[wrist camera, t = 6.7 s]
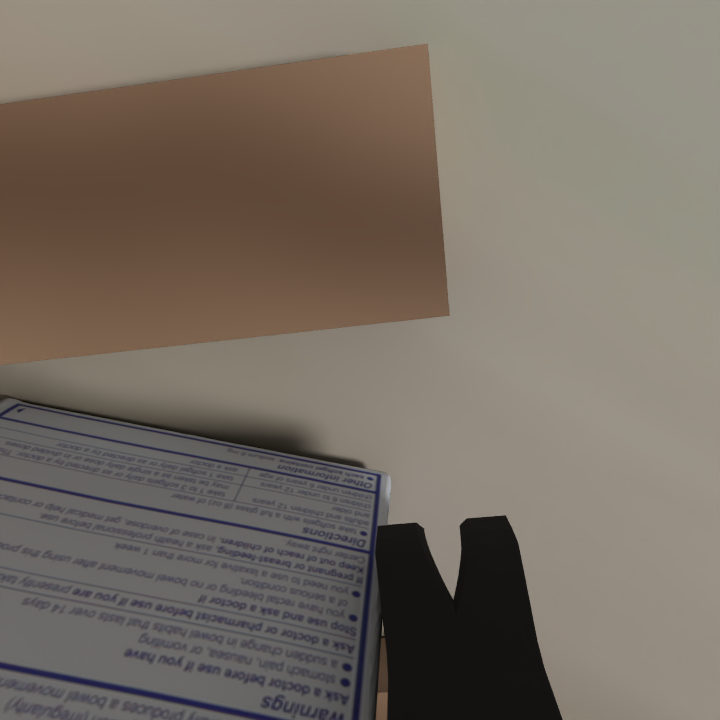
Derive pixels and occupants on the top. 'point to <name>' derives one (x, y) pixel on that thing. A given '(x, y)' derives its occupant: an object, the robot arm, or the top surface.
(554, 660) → the top surface
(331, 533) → the medicine box
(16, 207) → the notched board
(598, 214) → the top surface
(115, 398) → the top surface
